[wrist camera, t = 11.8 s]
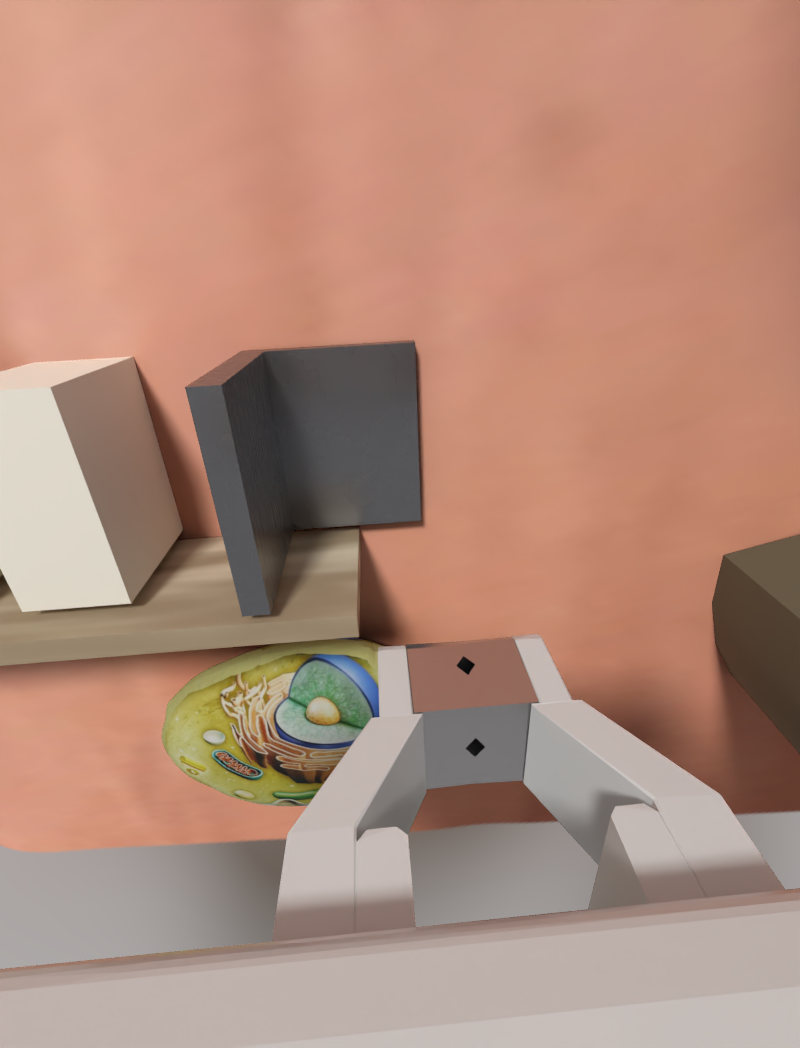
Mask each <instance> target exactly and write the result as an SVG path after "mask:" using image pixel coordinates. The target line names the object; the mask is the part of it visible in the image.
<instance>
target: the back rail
mask: <svg viewBox="0 0 800 1048" xmlns="http://www.w3.org/2000/svg"><path fill="white" fill-rule="evenodd" d="M360 559H361V542H360V532H359V527H348V528H334V529H321V530H307V531H294V532H293V536H292V539H291V543H290V547H289V550H288V554H287V557H286V561H285V565H284V568H283V572H282V575H281V579H280V583H279V586H278V590H277V593H276V597H275V601H274V604H273V608H272V611H271V614H269V615H256V616H244V617H242V613H241V609H240V605H239V601H238V597H237V593H236V589H235V585H234V581H233V577H232V573H231V569H230V565H229V561H228V557H227V553H226V549H225V545H224V541H223V537H212V538H198V539H185V540H176V541H175V542H174V544H173V545H172V546H171V548H170V549H169V551H168V552H167V553H166V555H165V556H164V558H163V559H162V561H161V562H160V563H159V565H158V566H157V568H156V569H155V570H154V572H153V573H152V575H151V576H150V578H149V579H148V580H147V582H146V583H145V585H144V586H143V588H142V589H141V590H140V592H139V593H138V595H137V596H136V597H135V599H134V600H133V602H132V603H131V604H119V605H106V606H93V607H80V608H67V609H55V610H42V611H29V612H22V611H21V609H20V607H19V605H18V603H17V601H16V599H15V597H14V595H13V593H12V591H11V589H10V587H9V585H8V583H7V581H6V579H5V577H4V575H2V576H1V577H0V666H4V665H16V664H28V663H41V662H53V661H66V660H78V659H90V658H103V657H115V656H127V655H140V654H152V653H165V652H177V651H189V650H202V649H214V648H227V647H239V646H251V645H264V644H276V643H288V642H301V641H313V640H326V639H338V638H350V637H359V614H360Z"/></svg>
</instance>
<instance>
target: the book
mask: <svg viewBox="0 0 800 1048" xmlns="http://www.w3.org/2000/svg"><path fill="white" fill-rule="evenodd" d="M712 609H713V621H714V633H715V643H716V645H717V647H718V649H719V651H720V653H721V655H722V657H723V659H724V661H725V663H726V665H727V667H728V669H729V671H730V673H731V675H732V676H733V677H734V678H735V679H736V680H737V682H738V683H739V684H740V685H741V686H742V687H743V689H744V690H745V691H746V692H747V693H748V694H749V696H750V697H751V698H752V699H753V700H754V701H755V703H756V704H757V705H758V706H759V707H760V708H761V709H762V711H763V712H764V713H765V714H766V715H767V716H768V718H769V719H770V720H771V721H772V722H773V723H774V725H775V726H776V727H777V728H778V729H779V730H780V732H781V733H782V734H783V735H784V736H785V737H786V739H787V740H788V741H789V742H790V743H791V744H792V746H793V747H794V748H795V749H796V750H797V751H798V753H799V754H800V535H796V536H792V537H789V538H785V539H781V540H778V541H774V542H770V543H766V544H763V545H759V546H755V547H752V548H748V549H744V550H740V551H737V552H733V553H729V554H726V555H724V556H723V560H722V564H721V568H720V572H719V577H718V581H717V585H716V589H715V593H714V597H713V601H712Z"/></svg>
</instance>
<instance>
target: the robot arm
mask: <svg viewBox="0 0 800 1048" xmlns="http://www.w3.org/2000/svg"><path fill="white" fill-rule="evenodd" d="M378 685H379V717H375V718H371V719H370V720H369V722H368V723H367V724H366V726H365V727H364V728H363V730H362V731H361V733H360V734H359V735H358V737H357V738H356V740H355V741H354V742H353V744H352V745H351V747H350V748H349V749H348V751H347V752H346V753H345V755H344V756H343V758H342V759H341V760H340V762H339V763H338V765H337V766H336V767H335V769H334V770H333V771H332V773H331V774H330V776H329V777H328V778H327V780H326V781H325V783H324V784H323V785H322V787H321V788H320V790H319V791H318V792H317V794H316V795H315V796H314V798H313V799H312V801H311V802H310V803H309V805H308V806H307V808H306V809H305V810H304V812H303V813H302V815H301V816H300V817H299V819H298V820H297V821H296V823H295V824H294V826H293V827H292V828H291V830H290V831H289V833H288V835H287V842H286V849H285V856H284V863H283V869H282V876H281V883H280V891H279V897H278V905H277V911H276V918H275V925H274V932H273V939H272V942H263V943H254V944H244V945H234V946H224V947H214V948H204V949H194V950H185V951H174V952H165V953H155V954H145V955H135V956H126V957H115V958H106V959H95V960H86V961H76V962H66V963H56V964H46V965H37V966H26V967H16V968H6V969H0V1048H800V888H799V889H788V890H785V889H784V887H783V886H782V885H781V883H780V881H779V880H778V879H777V877H776V876H775V874H774V872H773V871H772V870H771V868H770V867H769V865H768V864H767V862H766V861H765V859H764V858H763V856H762V855H761V853H760V852H759V851H758V849H757V848H756V846H755V845H754V843H753V842H752V840H751V839H750V837H749V836H748V834H747V833H746V831H745V830H744V829H743V827H742V826H741V824H740V823H739V821H738V820H737V818H736V817H735V815H734V814H733V812H732V811H731V809H730V808H729V806H728V805H727V804H726V802H725V801H724V799H723V798H722V796H721V795H720V794H719V793H717V792H716V791H715V790H713V789H712V788H710V787H709V786H707V785H706V784H704V783H703V782H701V781H700V780H698V779H697V778H695V777H694V776H693V775H691V774H690V773H688V772H687V771H685V770H684V769H682V768H681V767H679V766H678V765H676V764H675V763H673V762H672V761H671V760H669V759H668V758H666V757H665V756H663V755H662V754H660V753H659V752H657V751H656V750H654V749H653V748H651V747H650V746H649V745H647V744H646V743H644V742H643V741H641V740H640V739H638V738H637V737H635V736H634V735H632V734H631V733H629V732H628V731H626V730H625V729H624V728H622V727H621V726H619V725H618V724H616V723H615V722H613V721H612V720H610V719H609V718H607V717H606V716H604V715H603V714H602V713H600V712H599V711H597V710H596V709H594V708H593V707H591V706H590V705H588V704H587V703H585V702H584V701H582V700H572V698H571V696H570V693H569V691H568V689H567V687H566V685H565V683H564V681H563V679H562V677H561V675H560V673H559V671H558V669H557V667H556V665H555V663H554V661H553V659H552V657H551V655H550V653H549V651H548V649H547V647H546V645H545V643H544V641H543V639H542V637H541V636H540V635H538V634H531V635H521V636H511V638H510V637H505V638H494V639H483V640H472V641H461V642H445V643H427V644H410V645H406V647H405V646H404V645H402V646H385V647H378ZM523 780H524V782H523V783H524V784H525V785H526V786H527V788H528V789H529V790H530V791H531V792H532V793H533V794H534V795H535V796H536V797H537V798H538V800H539V801H540V802H541V803H542V804H543V805H544V806H545V807H546V808H547V809H548V810H549V812H550V813H551V814H552V815H553V816H554V817H555V818H556V819H557V820H558V821H559V822H560V824H561V825H563V827H564V828H565V829H566V830H567V831H568V832H569V833H570V834H571V835H572V836H573V838H574V839H575V840H576V841H577V842H578V843H579V844H580V845H581V846H582V847H583V849H584V850H585V851H586V852H587V853H588V854H589V855H590V856H591V857H592V858H593V859H594V861H595V862H596V863H597V864H598V865H599V867H598V871H597V876H596V879H595V883H594V887H593V892H592V896H591V900H590V904H589V908H588V910H579V911H569V912H560V913H550V914H541V915H540V914H539V915H530V916H520V917H510V918H500V919H490V920H481V921H471V922H461V923H452V924H442V925H432V926H422V927H416V926H415V913H414V901H413V890H412V879H411V867H410V855H409V843H408V833H409V831H410V828H411V826H412V824H413V822H414V819H415V817H416V815H417V813H418V810H419V808H420V806H421V803H422V801H423V799H424V797H425V794H426V789H433V788H442V787H450V786H458V785H466V784H476V783H491V782H507V781H523Z"/></svg>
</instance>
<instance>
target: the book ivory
mask: <svg viewBox="0 0 800 1048" xmlns="http://www.w3.org/2000/svg"><path fill="white" fill-rule="evenodd" d="M182 531H183V527H182V524H181V520H180V517H179V513H178V510H177V506H176V503H175V499H174V496H173V492H172V489H171V486H170V482H169V479H168V475H167V472H166V468H165V465H164V461H163V458H162V454H161V451H160V447H159V444H158V440H157V437H156V434H155V430H154V427H153V423H152V420H151V416H150V413H149V409H148V406H147V402H146V399H145V395H144V392H143V389H142V385H141V382H140V378H139V375H138V371H137V368H136V364H135V361H134V357H119V358H102V359H86V360H70V361H53V362H37V363H30V364H27V365H23V366H19V367H16V368H12V369H8V370H5V371H1V372H0V569H1V571H2V573H3V575H4V577H5V579H6V581H7V583H8V585H9V587H10V589H11V591H12V593H13V595H14V597H15V599H16V601H17V603H18V605H19V607H20V609H21V611H22V612H29V611H42V610H55V609H67V608H80V607H93V606H106V605H119V604H131V603H132V602H133V600H134V599H135V597H136V596H137V595H138V593H139V592H140V590H141V589H142V588H143V586H144V585H145V583H146V582H147V580H148V579H149V578H150V576H151V575H152V573H153V572H154V570H155V569H156V568H157V566H158V565H159V563H160V562H161V561H162V559H163V558H164V556H165V555H166V553H167V552H168V551H169V549H170V548H171V546H172V545H173V544H174V542H175V541H176V539H177V538H178V536H179V535H180V534H181V532H182Z"/></svg>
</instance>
